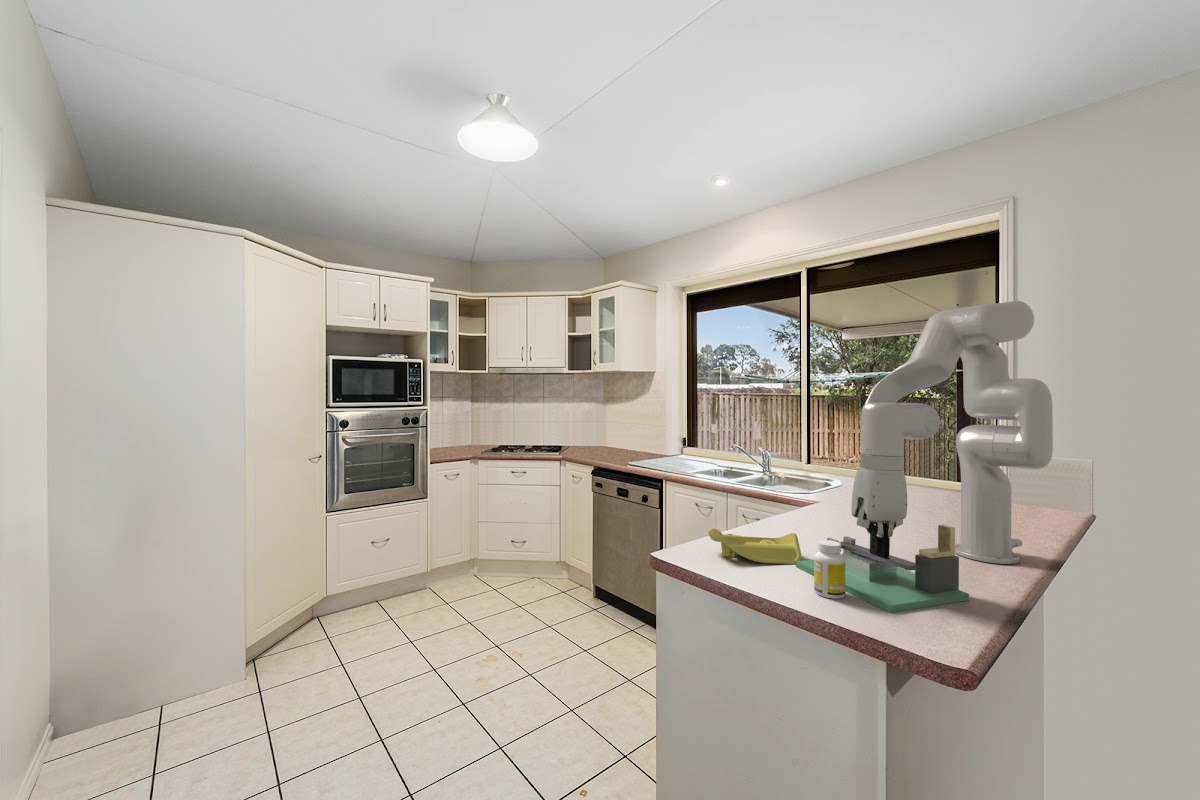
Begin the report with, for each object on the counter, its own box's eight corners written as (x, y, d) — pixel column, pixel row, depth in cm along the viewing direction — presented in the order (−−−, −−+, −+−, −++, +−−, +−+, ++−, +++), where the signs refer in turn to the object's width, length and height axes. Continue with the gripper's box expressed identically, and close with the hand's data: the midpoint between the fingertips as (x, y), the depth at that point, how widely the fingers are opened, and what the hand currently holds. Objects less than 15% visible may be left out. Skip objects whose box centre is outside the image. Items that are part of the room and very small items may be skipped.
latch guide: (942, 583, 94) (942, 551, 94) (958, 589, 91) (958, 556, 91) (915, 587, 92) (915, 554, 92) (930, 593, 89) (931, 560, 89)
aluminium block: (868, 566, 104) (868, 550, 104) (896, 577, 97) (896, 560, 97) (842, 569, 102) (842, 553, 102) (869, 581, 95) (869, 563, 95)
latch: (942, 552, 94) (942, 524, 94) (954, 555, 92) (955, 527, 92) (919, 554, 92) (919, 526, 92) (931, 558, 90) (931, 529, 90)
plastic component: (778, 538, 121) (798, 531, 112) (782, 569, 118) (803, 564, 109) (702, 534, 119) (717, 526, 110) (704, 565, 116) (719, 560, 107)
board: (863, 559, 112) (864, 532, 113) (968, 600, 90) (969, 565, 90) (796, 566, 107) (796, 538, 107) (889, 612, 84) (889, 575, 84)
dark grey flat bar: (844, 545, 108) (844, 540, 108) (921, 569, 90) (921, 564, 90) (834, 546, 107) (833, 541, 107) (909, 571, 89) (909, 565, 89)
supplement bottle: (849, 594, 92) (849, 543, 92) (839, 602, 88) (839, 548, 88) (820, 586, 96) (820, 537, 96) (809, 593, 92) (809, 542, 92)
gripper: (893, 461, 102) (891, 547, 102) (837, 461, 98) (834, 552, 98) (927, 466, 95) (925, 558, 95) (867, 466, 91) (865, 563, 90)
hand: (879, 555), depth 96 cm, fingers closed
